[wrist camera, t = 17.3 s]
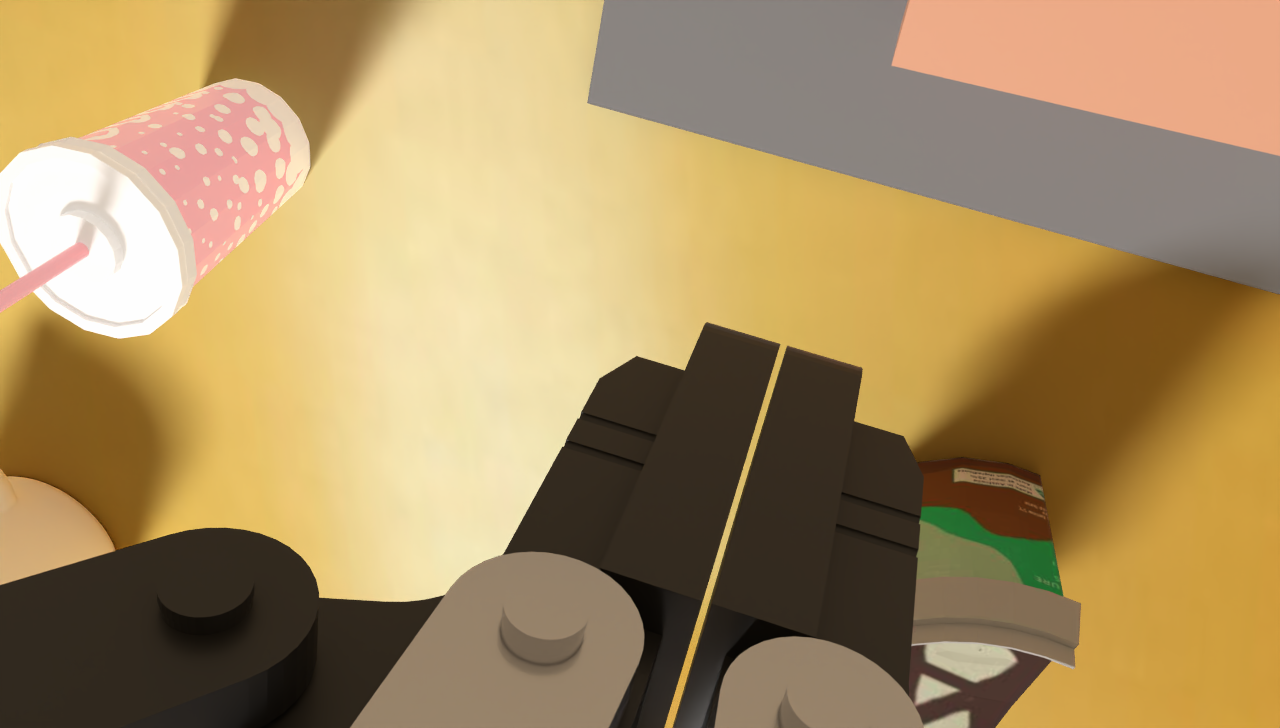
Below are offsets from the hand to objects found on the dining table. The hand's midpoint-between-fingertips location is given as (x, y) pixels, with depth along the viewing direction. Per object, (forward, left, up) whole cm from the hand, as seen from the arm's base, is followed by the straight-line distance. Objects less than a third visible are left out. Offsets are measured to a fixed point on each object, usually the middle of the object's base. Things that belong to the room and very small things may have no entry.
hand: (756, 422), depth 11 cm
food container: (+6, -20, -25) cm, 33 cm away
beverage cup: (-20, -12, -25) cm, 34 cm away
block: (+1, 0, -22) cm, 22 cm away
